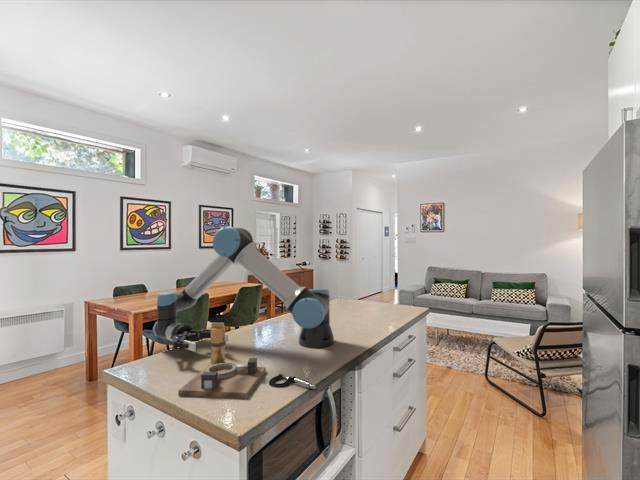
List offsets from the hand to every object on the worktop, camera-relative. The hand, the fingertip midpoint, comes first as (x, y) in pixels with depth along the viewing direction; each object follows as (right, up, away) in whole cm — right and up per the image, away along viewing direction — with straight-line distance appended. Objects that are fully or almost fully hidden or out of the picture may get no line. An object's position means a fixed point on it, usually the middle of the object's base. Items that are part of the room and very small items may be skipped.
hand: (212, 342), depth 118 cm
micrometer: (+30, -7, -20) cm, 37 cm away
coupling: (+3, -7, -2) cm, 8 cm away
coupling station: (+10, -7, -17) cm, 21 cm away
